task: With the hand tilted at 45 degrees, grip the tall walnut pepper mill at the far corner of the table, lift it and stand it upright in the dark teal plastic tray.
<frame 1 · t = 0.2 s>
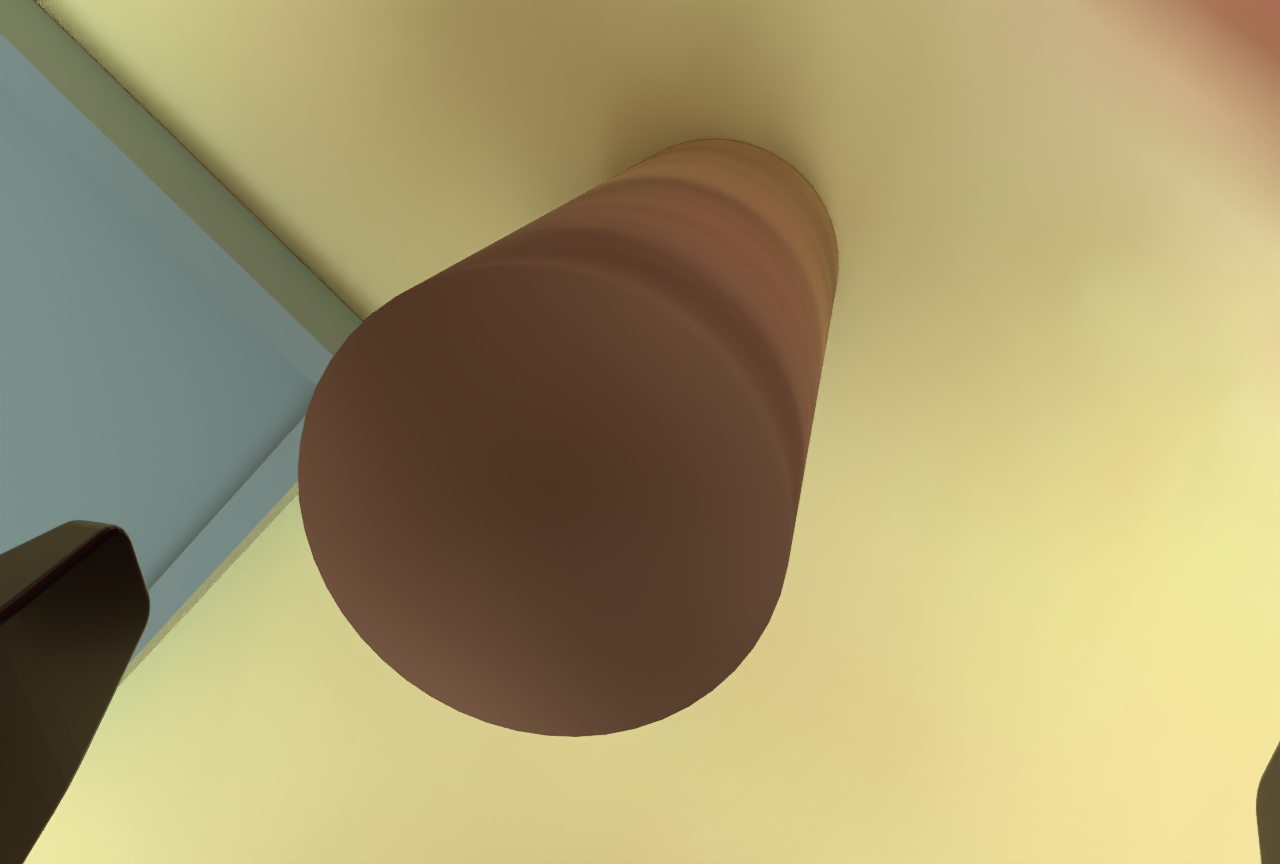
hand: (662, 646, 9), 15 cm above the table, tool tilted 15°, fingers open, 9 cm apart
pepper mill: (713, 265, 23), on the table
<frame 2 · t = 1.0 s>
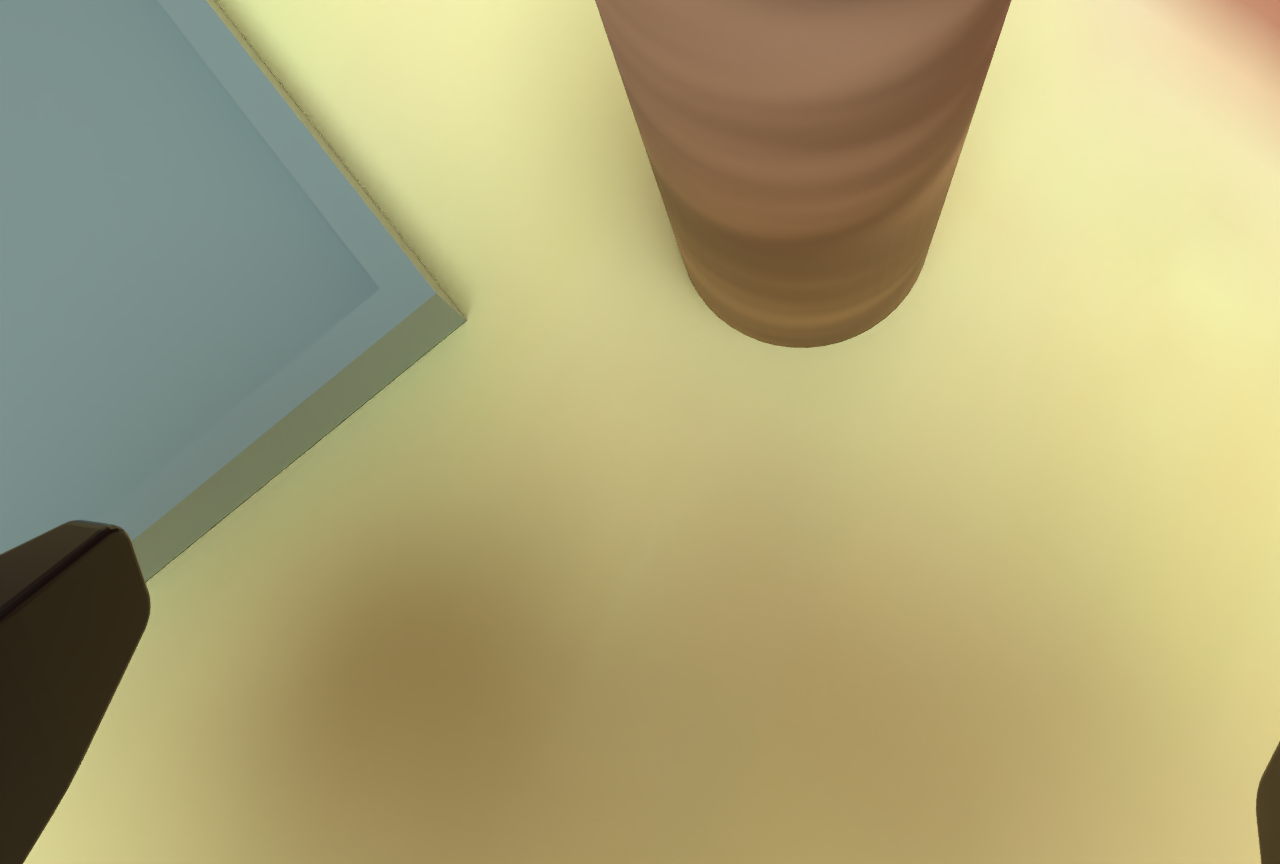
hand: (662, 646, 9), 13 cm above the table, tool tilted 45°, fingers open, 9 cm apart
pepper mill: (803, 226, 23), on the table
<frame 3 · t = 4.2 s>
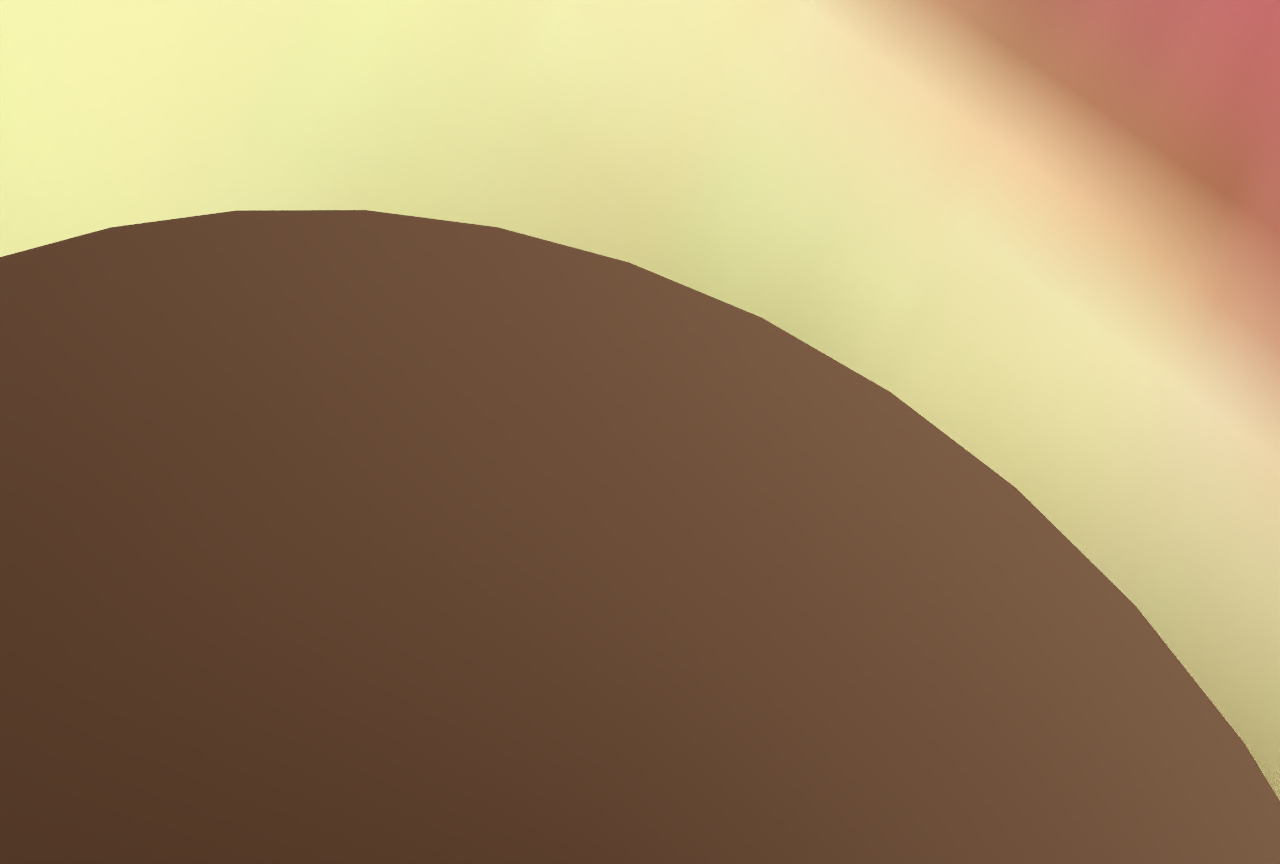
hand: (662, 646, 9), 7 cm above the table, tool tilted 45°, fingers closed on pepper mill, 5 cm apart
pepper mill: (707, 746, 15), on the table, touching gripper
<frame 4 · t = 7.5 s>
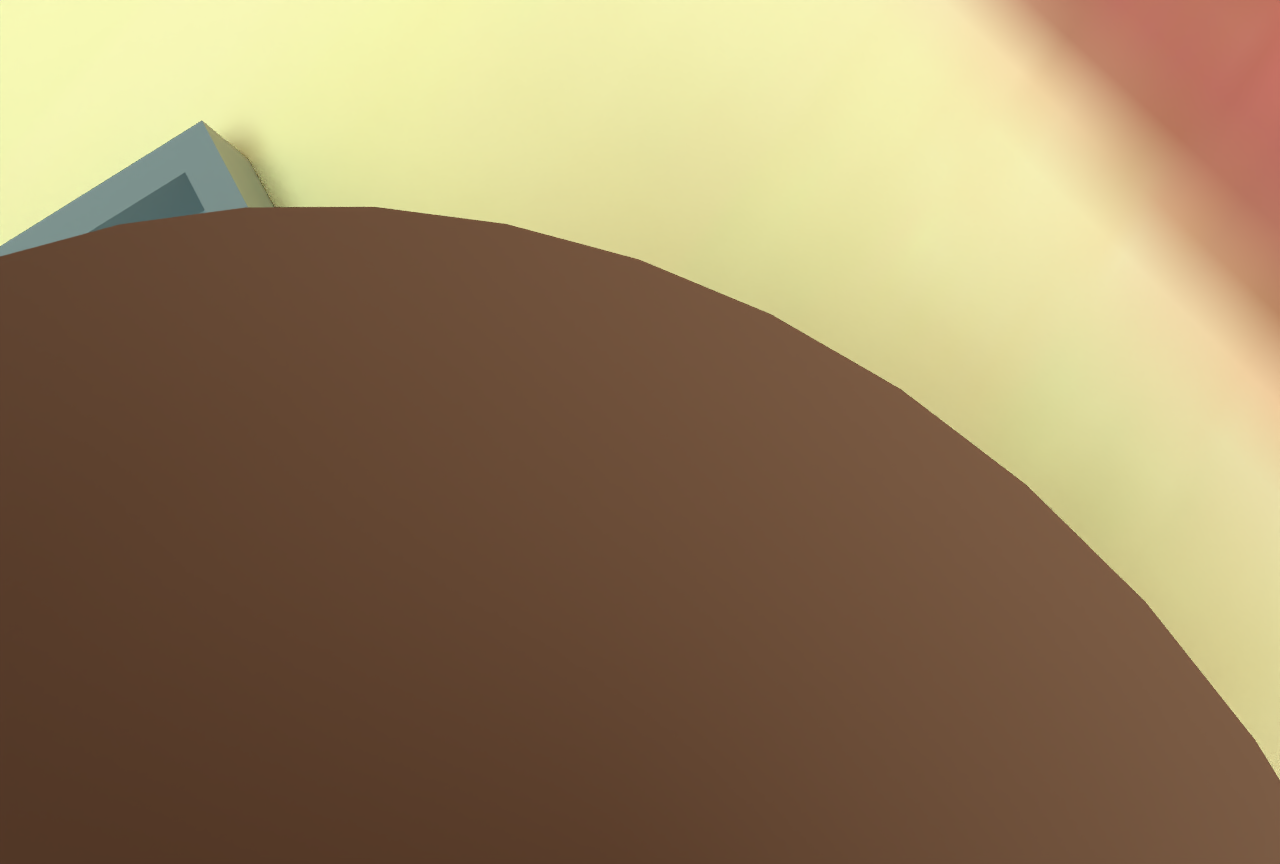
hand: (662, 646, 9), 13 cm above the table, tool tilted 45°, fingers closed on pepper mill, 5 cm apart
tray: (86, 664, 24), on the table
pepper mill: (708, 746, 15), point 7 cm above the table, touching gripper
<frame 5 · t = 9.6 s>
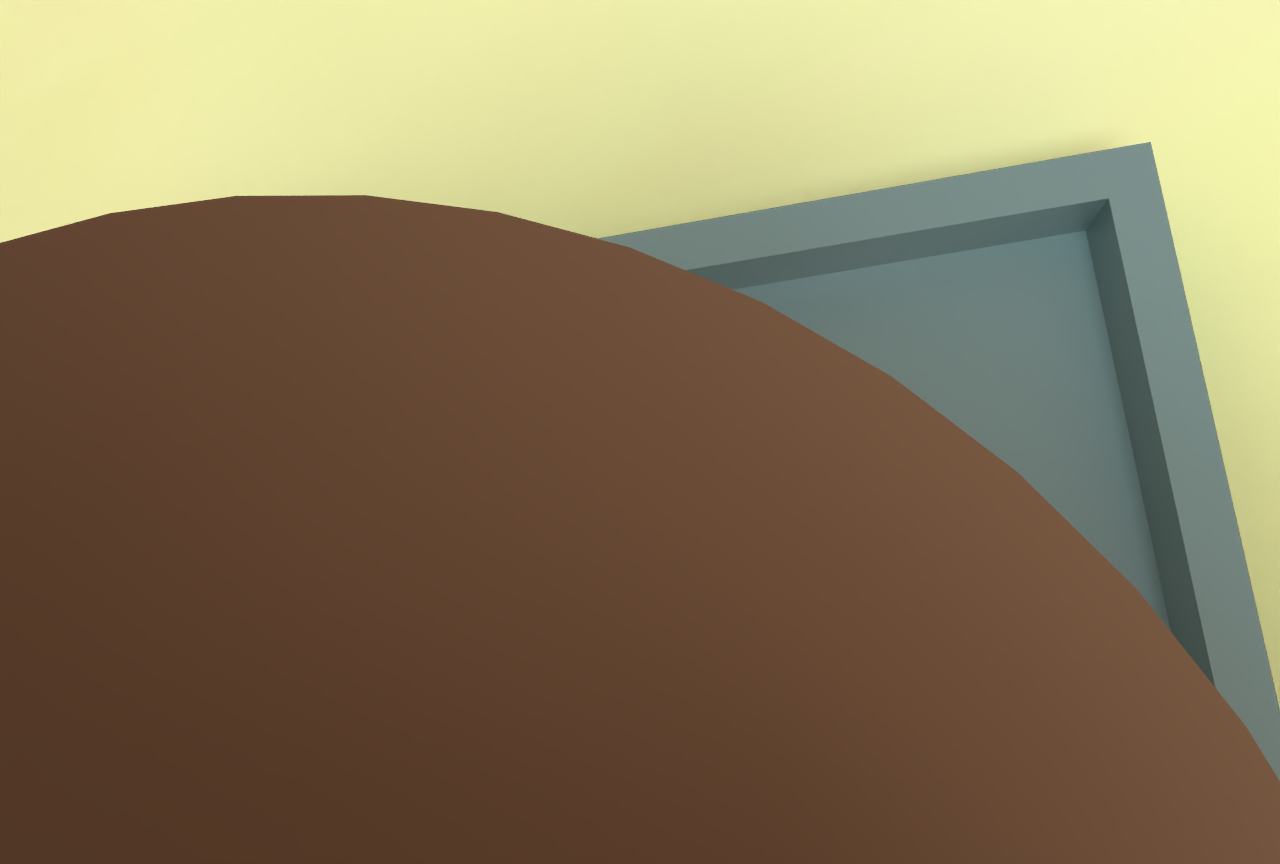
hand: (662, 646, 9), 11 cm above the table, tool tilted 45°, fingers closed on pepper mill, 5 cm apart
tray: (729, 710, 19), on the table
pepper mill: (707, 744, 15), point 5 cm above the table, touching gripper
when the fingers open (8 cm above the table, at t = 11.0 s): pepper mill stays where it is, resting on tray.
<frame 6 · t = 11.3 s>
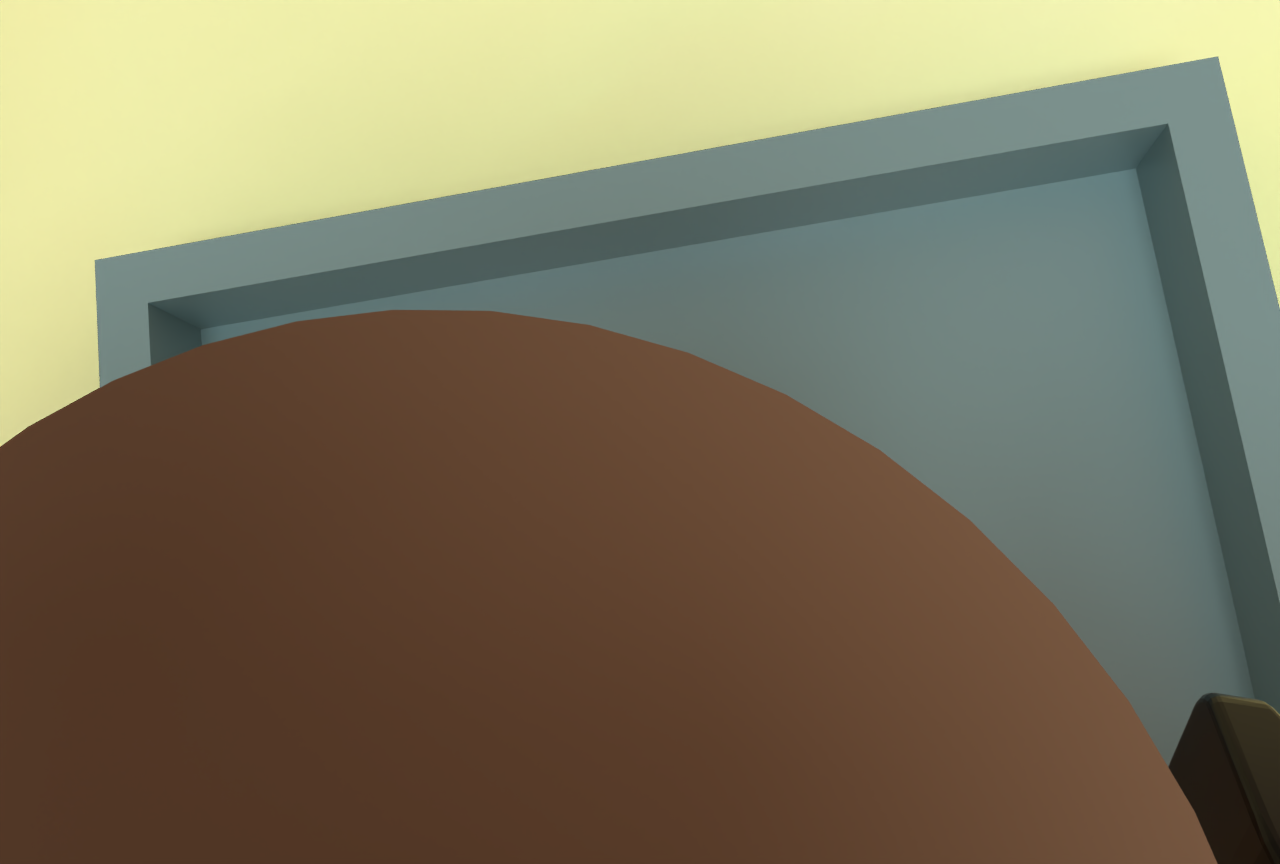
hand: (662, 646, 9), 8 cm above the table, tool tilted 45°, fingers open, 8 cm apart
tray: (714, 736, 16), on the table
pepper mill: (713, 744, 16), point 1 cm above the table, touching tray
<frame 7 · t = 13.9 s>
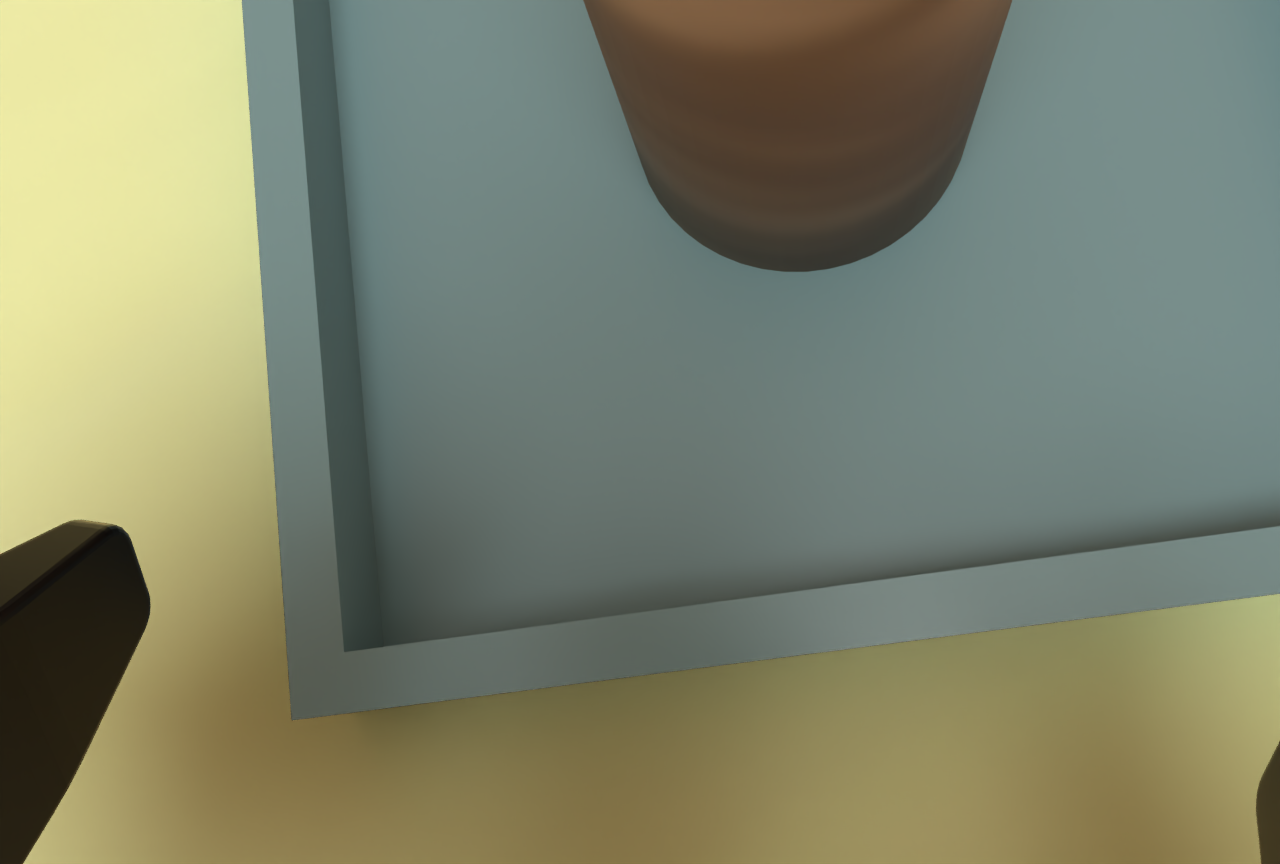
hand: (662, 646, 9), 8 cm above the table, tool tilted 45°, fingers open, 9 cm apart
tray: (798, 123, 18), on the table
pepper mill: (799, 113, 17), point 1 cm above the table, touching tray
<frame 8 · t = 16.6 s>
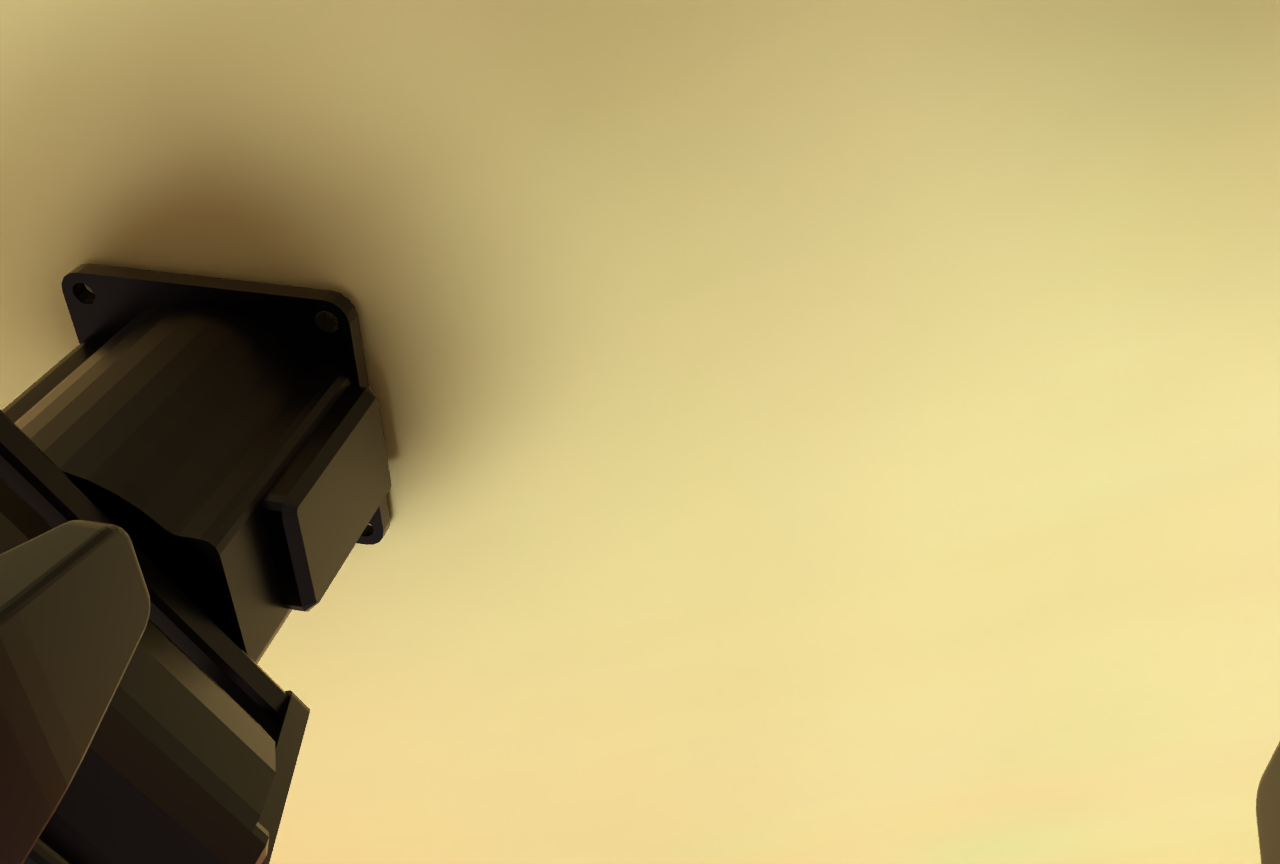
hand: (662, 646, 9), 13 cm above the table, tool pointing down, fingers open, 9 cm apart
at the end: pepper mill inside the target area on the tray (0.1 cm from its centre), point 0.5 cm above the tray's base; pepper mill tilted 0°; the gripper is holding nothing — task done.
